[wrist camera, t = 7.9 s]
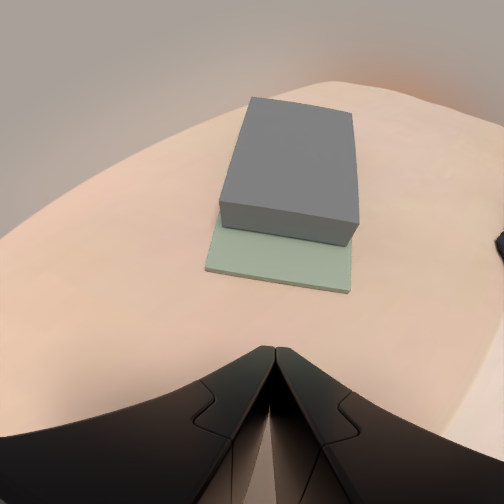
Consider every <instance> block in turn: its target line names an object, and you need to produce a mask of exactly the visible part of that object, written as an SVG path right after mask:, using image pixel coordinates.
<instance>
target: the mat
mask: <svg viewBox="0 0 504 504" xmlns="http://www.w3.org/2000/svg"><path fill="white" fill-rule="evenodd" d="M351 261H352V238H351V239H350V241H349V243H348V245H347V246H342V245H336V244H330V243H324V242H318V241H312V240H306V239H300V238H294V237H288V236H282V235H276V234H269V233H263V232H257V231H250V230H244V229H237V228H231V227H224V226H222V222H221V214H220V211H219V215H218V219H217V222H216V226H215V230H214V233H213V237H212V241H211V244H210V248H209V252H208V256H207V260H206V263H205V271H209V272H215V273H221V274H227V275H233V276H239V277H245V278H251V279H257V280H263V281H269V282H275V283H281V284H288V285H294V286H301V287H307V288H314V289H320V290H327V291H334V292H340V293H347V294H348V293H349V292H350V291H351Z"/></svg>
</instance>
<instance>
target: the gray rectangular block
mask: <svg viewBox="0 0 504 504" xmlns="http://www.w3.org/2000/svg"><path fill="white" fill-rule="evenodd" d="M219 205H220V214H221V222H222V226H224V227H231V228H237V229H244V230H250V231H257V232H263V233H269V234H276V235H282V236H288V237H294V238H300V239H306V240H312V241H318V242H324V243H330V244H336V245H342V246H347V245H348V243H349V241H350V239H351V238H352V236H353V234H354V232H355V231H356V229H357V227H358V225H359V197H358V178H357V163H356V151H355V139H354V129H353V120H352V113H348V112H344V111H339V110H334V109H329V108H324V107H319V106H313V105H307V104H301V103H295V102H288V101H281V100H274V99H266V98H257V97H251V100H250V103H249V106H248V109H247V112H246V115H245V118H244V121H243V124H242V127H241V130H240V133H239V137H238V140H237V143H236V146H235V149H234V153H233V156H232V159H231V162H230V166H229V169H228V172H227V176H226V179H225V182H224V186H223V189H222V192H221V196H220V199H219Z"/></svg>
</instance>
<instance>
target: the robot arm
mask: <svg viewBox="0 0 504 504" xmlns="http://www.w3.org/2000/svg"><path fill="white" fill-rule="evenodd" d="M269 407H270V409H269ZM268 414H269V419H270V431H271V443H272V454H273V466H274V478H275V489H276V501H277V504H504V462H503V461H500V460H497V459H495V458H492V457H490V456H487V455H484V454H482V453H479V452H477V451H474V450H472V449H469V448H467V447H464V446H462V445H460V444H457V443H455V442H453V441H450V440H448V439H446V438H443V437H441V436H439V435H436V434H434V433H432V432H430V431H428V430H425V429H423V428H421V427H419V426H417V425H415V424H413V423H410V422H408V421H406V420H404V419H402V418H400V417H398V416H396V415H394V414H392V413H390V412H388V411H386V410H384V409H382V408H380V407H378V406H377V405H375V404H373V403H372V402H370V401H368V400H367V399H365V398H363V397H362V396H360V395H359V394H357V393H356V392H353V391H352V390H350V389H349V388H347V387H346V386H344V385H343V384H341V383H340V382H338V381H337V380H335V379H334V378H332V377H331V376H329V375H328V374H327V373H325V372H324V371H322V370H321V369H319V368H318V367H316V366H315V365H313V364H312V363H311V362H309V361H308V360H306V359H305V358H303V357H302V356H301V355H299V354H298V353H296V352H295V351H294V350H292V349H291V348H287V347H276V348H275V347H273V346H259V347H258V348H256V349H254V350H252V351H251V352H249V353H247V354H245V355H244V356H242V357H240V358H238V359H236V360H235V361H233V362H231V363H229V364H227V365H226V366H224V367H222V368H220V369H218V370H216V371H214V372H213V373H211V374H209V375H207V376H205V377H203V378H201V379H199V380H196V381H194V382H192V383H190V384H188V385H186V386H184V387H182V388H180V389H177V390H175V391H173V392H170V393H168V394H165V395H162V396H160V397H157V398H154V399H151V400H148V401H145V402H142V403H139V404H136V405H133V406H130V407H127V408H123V409H120V410H117V411H113V412H110V413H107V414H103V415H100V416H96V417H92V418H89V419H85V420H81V421H77V422H73V423H69V424H65V425H61V426H57V427H53V428H48V429H44V430H39V431H34V432H29V433H24V434H18V435H13V436H7V437H0V504H243V502H244V499H245V495H246V492H247V489H248V486H249V482H250V479H251V476H252V472H253V469H254V466H255V462H256V459H257V455H258V452H259V448H260V445H261V441H262V438H263V434H264V430H265V427H266V423H267V419H268Z"/></svg>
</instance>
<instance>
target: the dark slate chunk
mask: <svg viewBox="0 0 504 504" xmlns="http://www.w3.org/2000/svg"><path fill="white" fill-rule="evenodd" d="M501 234H502V235H500V236H499V238H497V242H498V249H499V250H500V252H501V254H502V256H503V258H504V231H503V232H502V233H501Z"/></svg>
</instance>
